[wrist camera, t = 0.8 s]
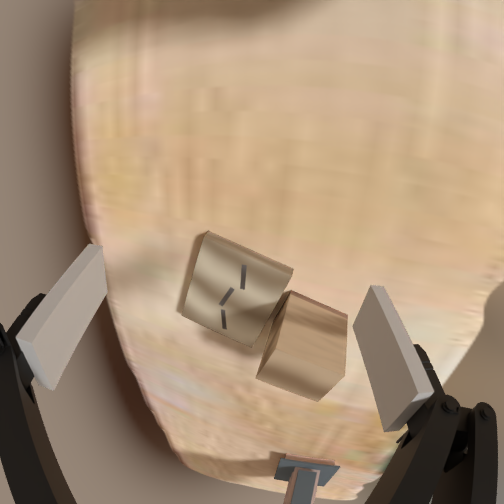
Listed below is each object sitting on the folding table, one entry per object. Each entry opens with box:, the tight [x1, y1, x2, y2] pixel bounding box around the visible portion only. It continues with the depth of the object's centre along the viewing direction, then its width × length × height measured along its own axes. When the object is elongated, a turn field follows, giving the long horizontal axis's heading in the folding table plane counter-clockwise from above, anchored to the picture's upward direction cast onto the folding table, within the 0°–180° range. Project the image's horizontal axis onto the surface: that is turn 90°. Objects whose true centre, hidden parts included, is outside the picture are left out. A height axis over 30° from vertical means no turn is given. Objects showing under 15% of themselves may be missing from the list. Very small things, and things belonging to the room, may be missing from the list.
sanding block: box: [256, 290, 348, 402], centre depth 36 cm, size 6×8×10 cm
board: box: [182, 231, 294, 348], centre depth 40 cm, size 14×11×2 cm
